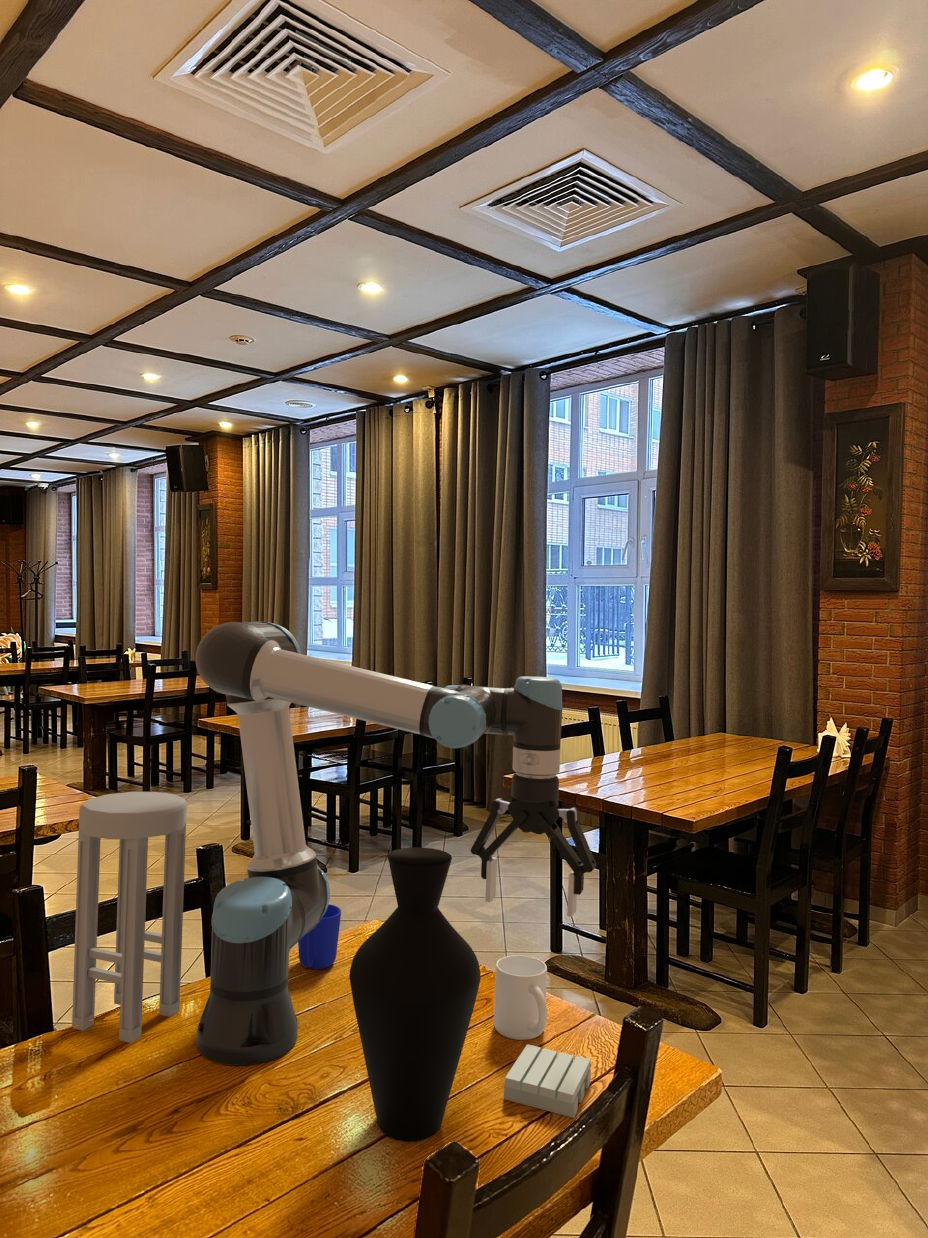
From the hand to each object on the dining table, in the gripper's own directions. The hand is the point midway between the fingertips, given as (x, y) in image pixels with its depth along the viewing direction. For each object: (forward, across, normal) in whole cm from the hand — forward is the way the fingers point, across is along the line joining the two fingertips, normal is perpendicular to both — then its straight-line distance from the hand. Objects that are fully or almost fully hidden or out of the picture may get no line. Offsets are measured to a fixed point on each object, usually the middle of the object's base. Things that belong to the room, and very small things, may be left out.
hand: (530, 906), depth 135 cm
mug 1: (+21, -43, +6) cm, 48 cm away
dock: (+20, +8, -14) cm, 26 cm away
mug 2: (+21, 0, 0) cm, 21 cm away
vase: (+21, -6, -29) cm, 36 cm away
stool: (+21, -59, -24) cm, 67 cm away
